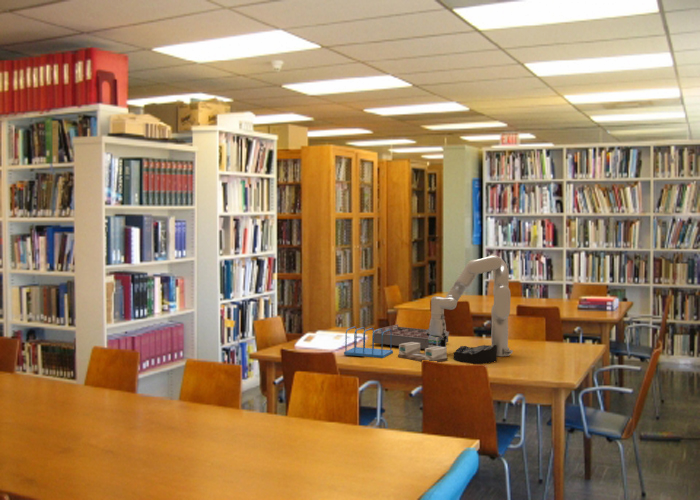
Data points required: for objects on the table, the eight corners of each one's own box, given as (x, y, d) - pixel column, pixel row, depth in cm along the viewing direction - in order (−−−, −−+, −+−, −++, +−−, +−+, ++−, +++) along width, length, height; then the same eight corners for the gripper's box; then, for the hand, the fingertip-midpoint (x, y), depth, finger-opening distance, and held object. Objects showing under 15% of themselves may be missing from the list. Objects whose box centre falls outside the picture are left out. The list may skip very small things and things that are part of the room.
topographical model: (485, 354, 427) (485, 338, 427) (504, 362, 403) (504, 345, 403) (447, 356, 421) (447, 339, 421) (463, 364, 397) (463, 347, 397)
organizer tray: (426, 351, 437) (426, 335, 437) (371, 345, 460) (371, 329, 459) (449, 344, 464) (449, 328, 463) (396, 338, 486) (396, 323, 486)
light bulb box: (437, 355, 422) (437, 337, 422) (427, 354, 426) (427, 336, 426) (446, 353, 431) (446, 335, 430) (436, 352, 435) (437, 334, 435)
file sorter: (343, 355, 425) (343, 329, 424) (354, 350, 441) (355, 325, 440) (383, 358, 415) (383, 332, 414) (393, 353, 431) (393, 328, 430)
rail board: (447, 360, 409) (447, 347, 408) (431, 363, 399) (431, 350, 399) (413, 354, 428) (413, 341, 427) (397, 357, 418) (397, 344, 418)
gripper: (452, 318, 424) (452, 346, 425) (430, 315, 437) (430, 342, 437) (444, 319, 419) (444, 348, 420) (422, 316, 432) (422, 344, 432)
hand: (437, 345), depth 428 cm, fingers open, 9 cm apart
